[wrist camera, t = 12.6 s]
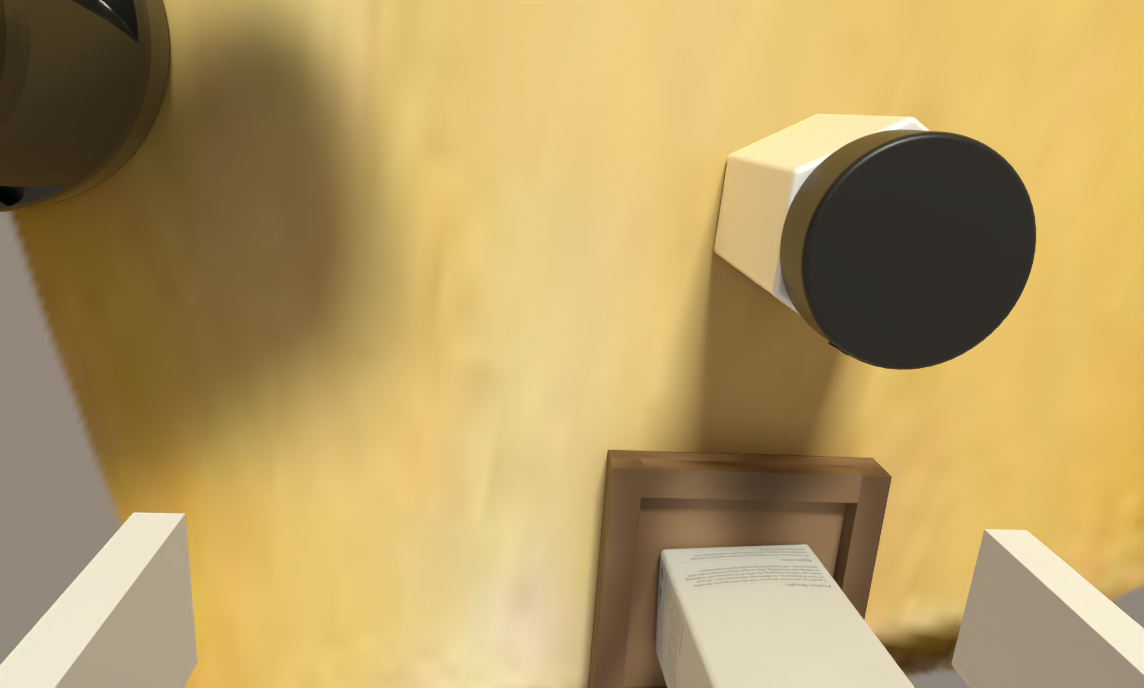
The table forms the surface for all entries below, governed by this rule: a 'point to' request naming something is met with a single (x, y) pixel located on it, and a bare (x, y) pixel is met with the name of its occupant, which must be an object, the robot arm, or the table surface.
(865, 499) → the brown wooden tray
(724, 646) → the skincare box
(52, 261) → the table surface
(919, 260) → the jar
